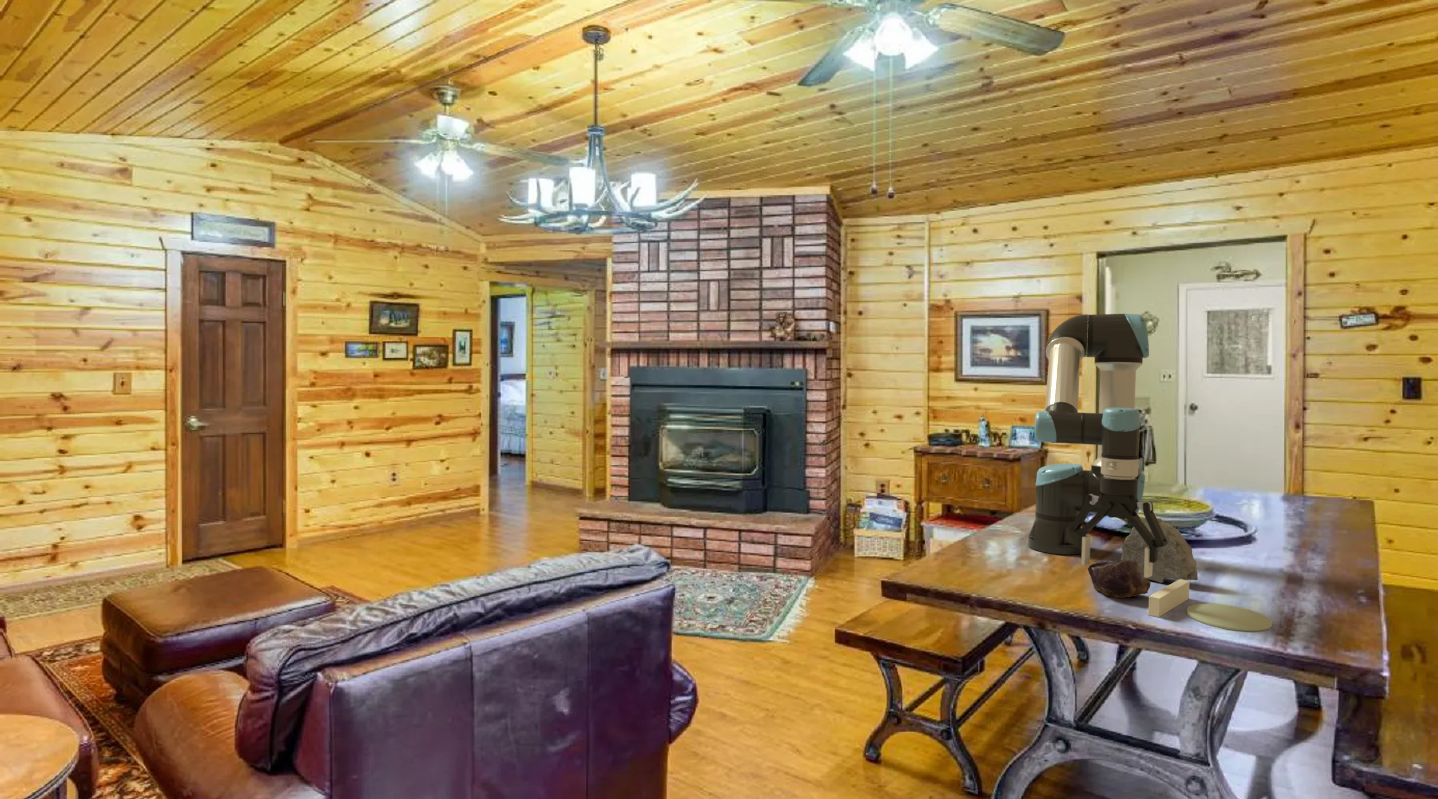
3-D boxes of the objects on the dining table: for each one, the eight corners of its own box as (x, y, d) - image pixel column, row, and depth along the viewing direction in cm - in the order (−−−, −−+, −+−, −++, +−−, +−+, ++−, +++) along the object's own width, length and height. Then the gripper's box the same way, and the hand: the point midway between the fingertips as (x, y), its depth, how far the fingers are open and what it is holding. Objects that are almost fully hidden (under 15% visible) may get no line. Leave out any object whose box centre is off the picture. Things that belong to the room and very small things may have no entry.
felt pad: (1175, 617, 167) (1176, 614, 167) (1200, 601, 177) (1200, 599, 177) (1260, 637, 156) (1260, 634, 156) (1281, 619, 166) (1281, 616, 166)
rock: (1103, 591, 189) (1082, 599, 183) (1099, 554, 190) (1078, 561, 183) (1155, 595, 180) (1135, 603, 174) (1150, 557, 181) (1130, 564, 174)
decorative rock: (1117, 575, 197) (1119, 515, 196) (1127, 570, 202) (1129, 511, 201) (1190, 590, 185) (1193, 526, 184) (1200, 584, 190) (1202, 521, 189)
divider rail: (1148, 614, 169) (1149, 596, 169) (1179, 596, 181) (1179, 579, 181) (1158, 617, 168) (1159, 598, 167) (1188, 598, 180) (1189, 581, 179)
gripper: (1056, 472, 187) (1054, 562, 188) (1173, 485, 168) (1169, 585, 169) (1071, 468, 192) (1068, 556, 193) (1186, 481, 173) (1182, 578, 174)
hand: (1115, 570), depth 181 cm, fingers open, 13 cm apart
